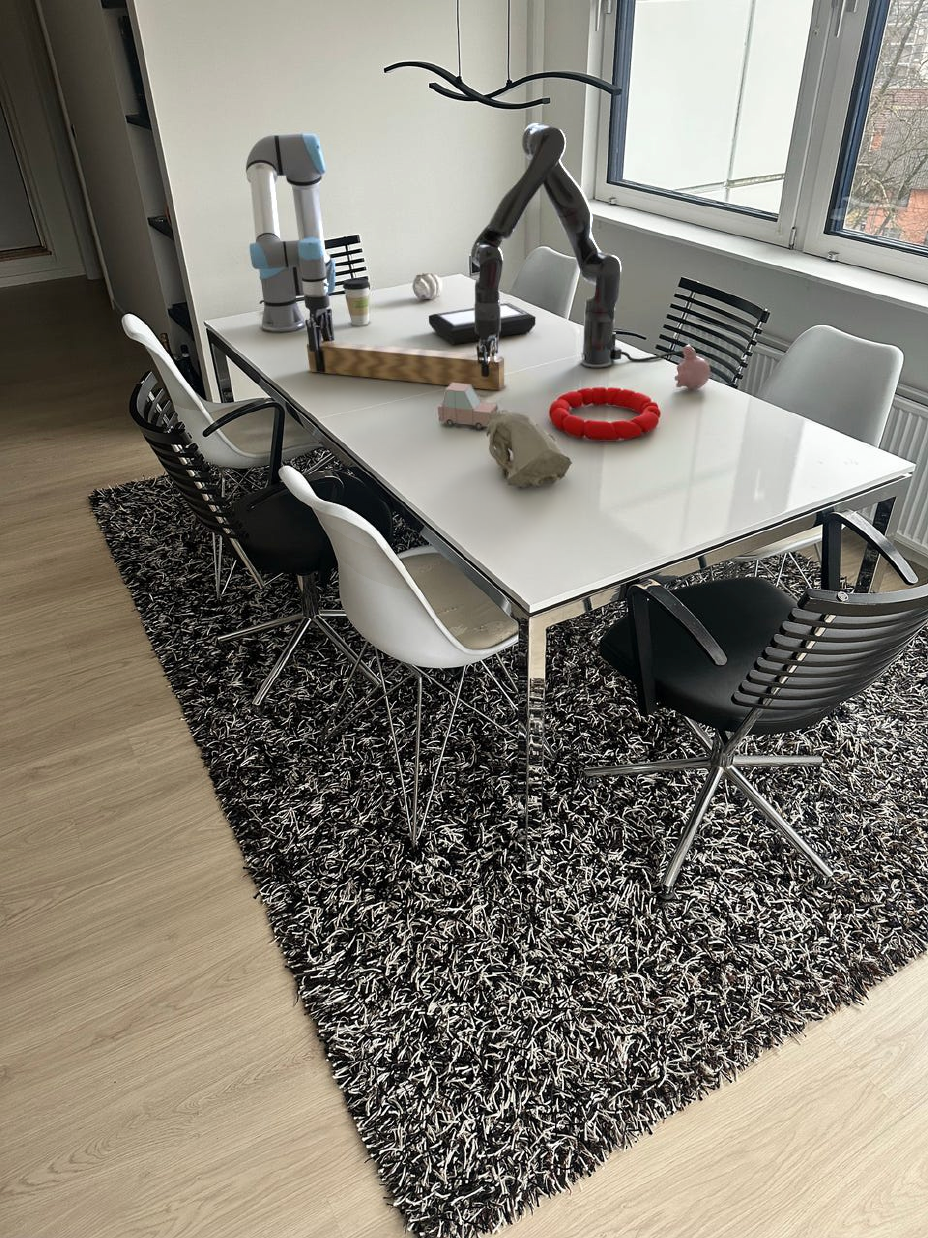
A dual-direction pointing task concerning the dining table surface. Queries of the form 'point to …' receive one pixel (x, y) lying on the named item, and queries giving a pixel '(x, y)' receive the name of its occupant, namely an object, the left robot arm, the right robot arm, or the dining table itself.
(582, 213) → the right robot arm
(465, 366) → the beam
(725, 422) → the dining table surface
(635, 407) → the decorative ring
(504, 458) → the grey brown rock
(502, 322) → the electronic device
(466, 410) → the toy car
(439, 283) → the seashell
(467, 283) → the dining table surface
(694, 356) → the figurine
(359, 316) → the coffee cup
